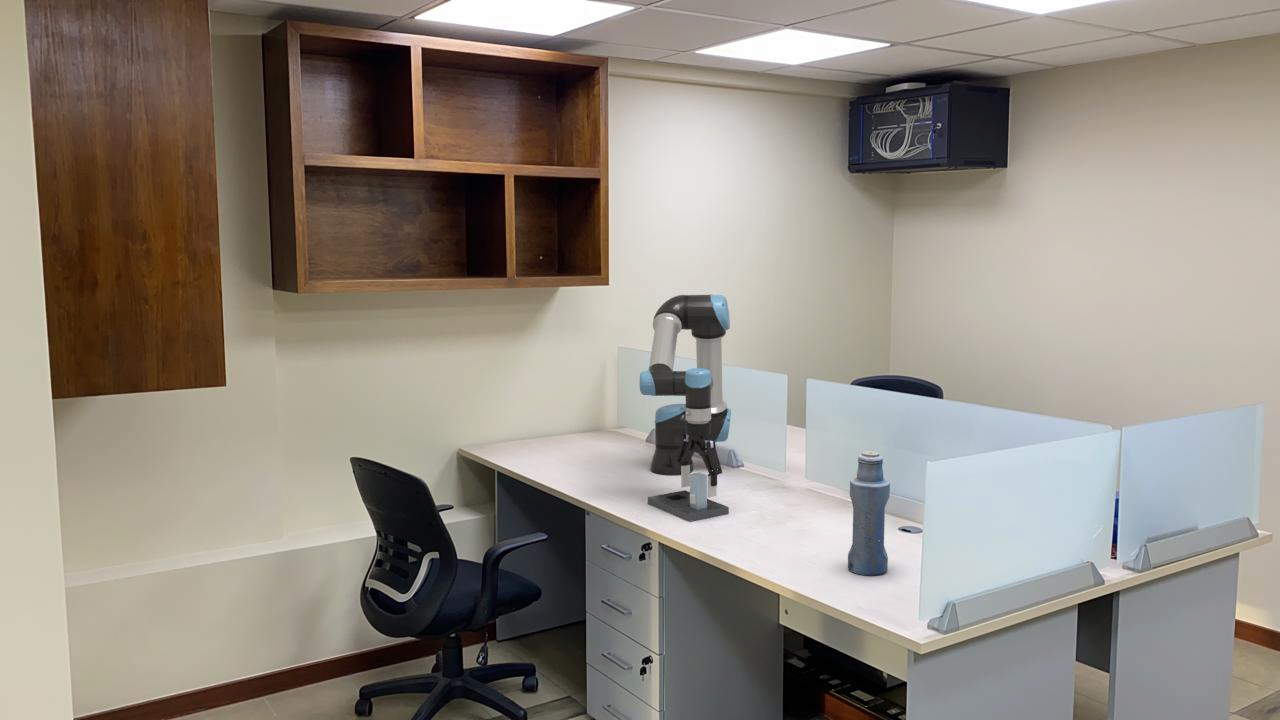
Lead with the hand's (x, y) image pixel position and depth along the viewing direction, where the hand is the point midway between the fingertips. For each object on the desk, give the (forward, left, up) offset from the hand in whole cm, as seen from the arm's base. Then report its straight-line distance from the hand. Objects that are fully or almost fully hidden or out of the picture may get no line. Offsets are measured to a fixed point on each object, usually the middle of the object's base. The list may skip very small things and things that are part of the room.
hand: (698, 491), depth 296 cm
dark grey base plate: (0, -6, -8) cm, 10 cm away
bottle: (-8, +62, -8) cm, 63 cm away
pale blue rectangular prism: (0, 0, -7) cm, 7 cm away
